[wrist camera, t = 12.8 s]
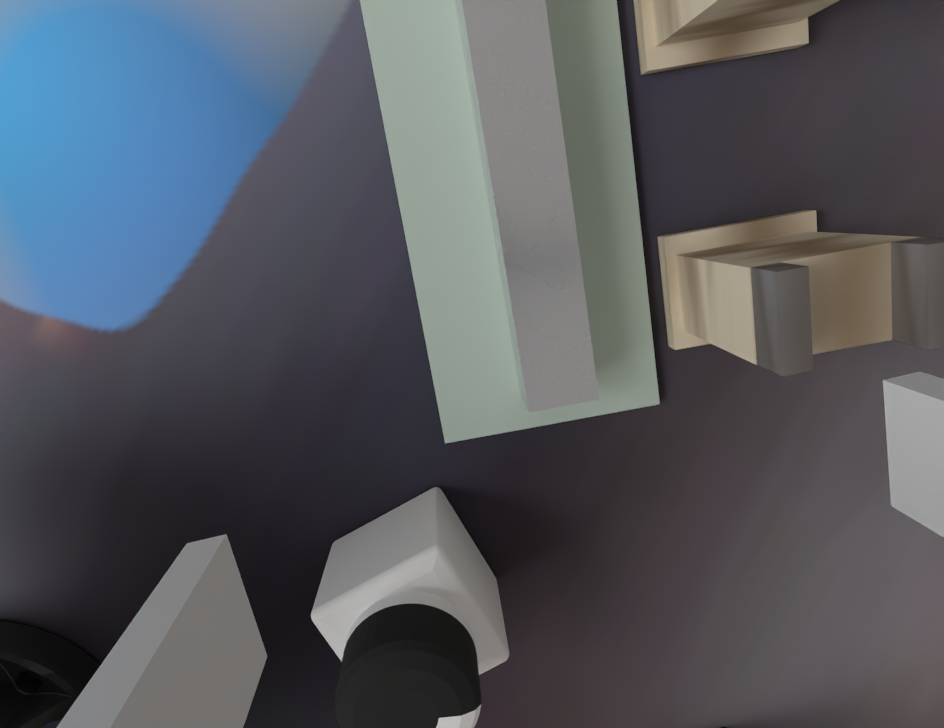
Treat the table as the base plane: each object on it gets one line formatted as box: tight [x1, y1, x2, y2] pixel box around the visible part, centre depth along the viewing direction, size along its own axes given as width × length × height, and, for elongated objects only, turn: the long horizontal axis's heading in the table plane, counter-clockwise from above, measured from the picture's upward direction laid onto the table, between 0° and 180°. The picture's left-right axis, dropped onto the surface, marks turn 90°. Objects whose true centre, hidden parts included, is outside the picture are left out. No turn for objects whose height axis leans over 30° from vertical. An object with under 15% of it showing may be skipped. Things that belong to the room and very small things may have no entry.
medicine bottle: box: [311, 487, 509, 728], centre depth 32 cm, size 7×7×12 cm
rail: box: [455, 0, 599, 413], centre depth 31 cm, size 22×4×4 cm, turn 10°
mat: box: [360, 0, 660, 443], centre depth 33 cm, size 12×26×1 cm, turn 10°
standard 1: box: [657, 210, 944, 376], centre depth 29 cm, size 8×6×11 cm
